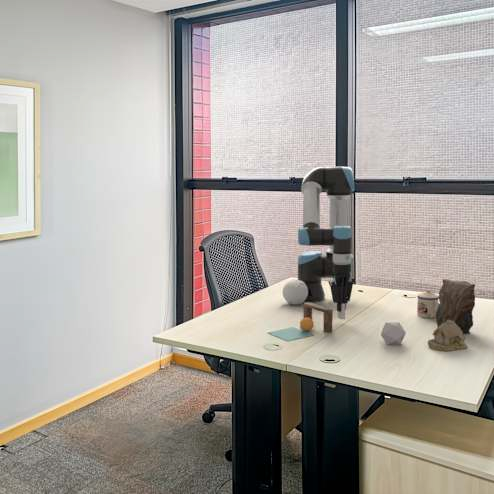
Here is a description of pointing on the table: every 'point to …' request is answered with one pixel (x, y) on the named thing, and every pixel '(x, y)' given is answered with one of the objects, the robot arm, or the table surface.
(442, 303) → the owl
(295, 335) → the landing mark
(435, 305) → the teacup with lid
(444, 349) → the ceramic model
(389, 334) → the die
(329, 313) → the bridge
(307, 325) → the ball
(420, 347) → the table surface
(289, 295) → the decorative ball
